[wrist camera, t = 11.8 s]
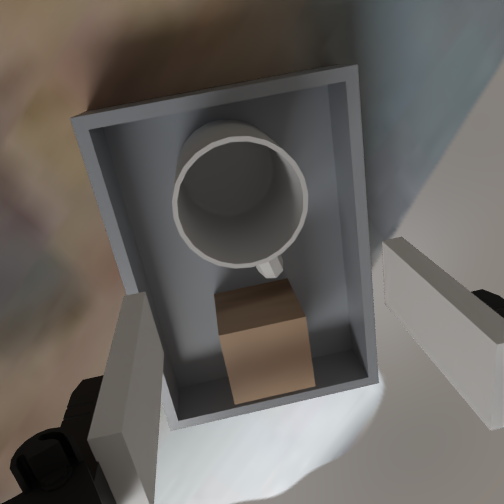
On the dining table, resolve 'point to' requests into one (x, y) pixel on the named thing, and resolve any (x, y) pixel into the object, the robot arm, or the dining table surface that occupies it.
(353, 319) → the gray tray
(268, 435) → the dining table surface
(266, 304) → the walnut block
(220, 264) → the cup
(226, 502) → the dining table surface
